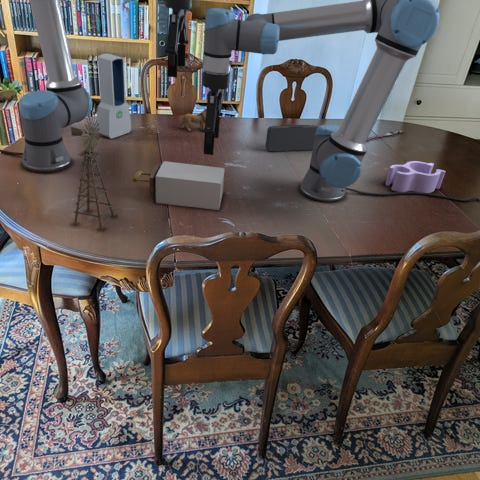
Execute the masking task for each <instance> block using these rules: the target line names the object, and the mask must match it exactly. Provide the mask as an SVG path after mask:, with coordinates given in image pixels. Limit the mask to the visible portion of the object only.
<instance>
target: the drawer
mask: <svg viewBox="0 0 480 480" xmlns="http://www.w3.org/2000/svg"><path fill="white" fill-rule="evenodd" d="M160 167H161V164H159V163H156V165H155V167H154V168H153V170H152V172H143V171H142V170H137V171H136V173H135V174H134V176H133V178H131V179H132V182H133V183H137V182H143V183H148V184H149V185H148V186H149V187H148V188H149V190H148V191H149V199H151V200H154V199H155V198H156V175H157V173H158V171H159V169H160ZM141 176H149V177H148V178H149V179H145V178H144V179H143V178H140V177H141Z"/></svg>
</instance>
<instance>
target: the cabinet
mask: <svg viewBox="0 0 480 480" xmlns="http://www.w3.org/2000/svg"><path fill="white" fill-rule="evenodd" d="M225 169H226V168H225V167H217V166H211V165H210V166H209V165H200V164H191V163H183V162H182V163H181V162H175V161H174V162H173V161H166V160H164V161H162V163H161V164H160V169H159V171H158V173H157V175H156V195H155V204H162V205H170V206H179V207H187V208H188V207H189V208H197V209H207V210H213V211H220V208H221V203H222V198H223V194H224V183H225Z"/></svg>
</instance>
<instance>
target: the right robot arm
mask: <svg viewBox="0 0 480 480" xmlns="http://www.w3.org/2000/svg"><path fill="white" fill-rule="evenodd" d="M235 15H236V13H235V11H234V10H232V9H227V8H220V7H212V8H209V9H208V10H206V13H205V21H204V32H203V33H204V34H203V54H202V70H203V72H202V74H201V85H202V86H203V87H204V88H206V89H209V91H208V92H207V94H206V108H207V111H206V120H205V124H204V129H201V133H203V134H204V139H203V140H204V141H203V155H208V156H214V150H215V139H219V135H220V123H221V117H223V115H224V113H223V112H222V99H223V92H222V90H227V89H229V87H230V79H231V74H230V72H231V65H234V61H233V60H231V59H232V53H233V51H235V52H243V53H253V54H261V55H262V56H263V55H275V54H276V53H277V51H278V49H279V48H278V47H279V42H281V41H282V42H283V41H288V40H299V39H304V38H312V37H321V36H328V35H329V36H330V35H336V34H337V35H338V34H343V33H344V34H345V33H351V32H352V33H353V32H361V31H364V33H366V34H375V33H377V34H376V35H375V38H374V42H375V47H376V50H375V52H374V54H373V56H372V58H371V60H370V62H369V63H368V67H367V69H366V71H365V73H364V75H363V77H362V79H361V82H360V84H359V85H358V88H357V89H356V92H355V94H354V96H353V99H352V100H351V103H350V104H349V106H348V109H347V110H346V113H345V115H344V118H343V119H342V122H341V124H340V125H334V124H321V125H318V126H319V127H318V128H317V130H316V134H315V140H314V145H313V150H311V156H310V162H309V167H308V170H307V172H306V173H305V175H304V177H303V179H302V180H301V182H300V186H299V190H300V192H301V194H302V195H304V196H306V197H307V198H309V199H312V200H314V201H318V202H324V203H333V202H338V201H341V200H342V199H344V197H345V195H346V191H349V192H353V193H356V194H361V195H368V196H378V197H379V196H395V195H421V196H430V197H436V198H443V199H448V200H453V201H457V202H469V201H473V200H477V202H480V198H479V197H477V196H476V197H475V196H473V197H469V198H457V197H452V196H447V195H442V194H435V193H421V192H415V191H407V192H397V191H394V192H388V193H385V192H384V193H379V192H378V193H377V192H367V191H360V190H357V189H355V188H350V187H351V186H352V185H354V184H355V183H356V182H357V181H358V180H359V179H360V177H361V175H362V168H363V167H362V161H363V160H364V159H365V158H364V157H365V155H366V153H368V145H367V141H366V140H367V138H369V137H370V134H371V132H372V131H373V129H374V126H375V125H376V123H377V120H378V119H379V117H380V115H381V113H382V110H383V109H384V107H385V105H386V103H387V101H388V100H389V97H390V95H391V93H392V91H393V89H394V87H395V85H396V84H397V81H398V79H399V77H400V76H401V73H402V71H403V70H404V68H405V66H406V64H407V62H408V61H409V60H412V59H414V58H417V55H418V53H419V51H420V49H421V48H422V46H424V45H425V44H426V43H428V42H429V41H430V40H432V38H433V37H434V35H435V34H436V32H437V30H438V28H439V24H440V20H441V19H440V17H441V16H440V10H439V7H438V5H437V2H435V0H357V1H349V2H343V3H335V4H328V5H321V6H313V7H306V8H298V9H291V10H284V11H276V12H275V11H274V12H269V13H252V14H250V15H248V16H247V17H246V19H245V20H242V19H238V18H236V16H235ZM478 198H479V199H478Z"/></svg>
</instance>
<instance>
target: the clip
mask: <svg viewBox="0 0 480 480" xmlns="http://www.w3.org/2000/svg"><path fill="white" fill-rule="evenodd" d="M434 165H435V163H434V162H429V163H428V162H424V161H417V160H411V161H406V163H405V164H392V165H390V166H389V170H388V174H387V177H386V181H385V186H387V187H389V186H390V185H392V186H391V191H393V192H421V193H429V194H432V193H434V191H435V190H440V188H441V185H442V183H443V180H444V178H445V175H446V172H447V171H446V170H443V169H439V168H435V169H436V170H435V172H434V173H432V171H433V168H434Z"/></svg>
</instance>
